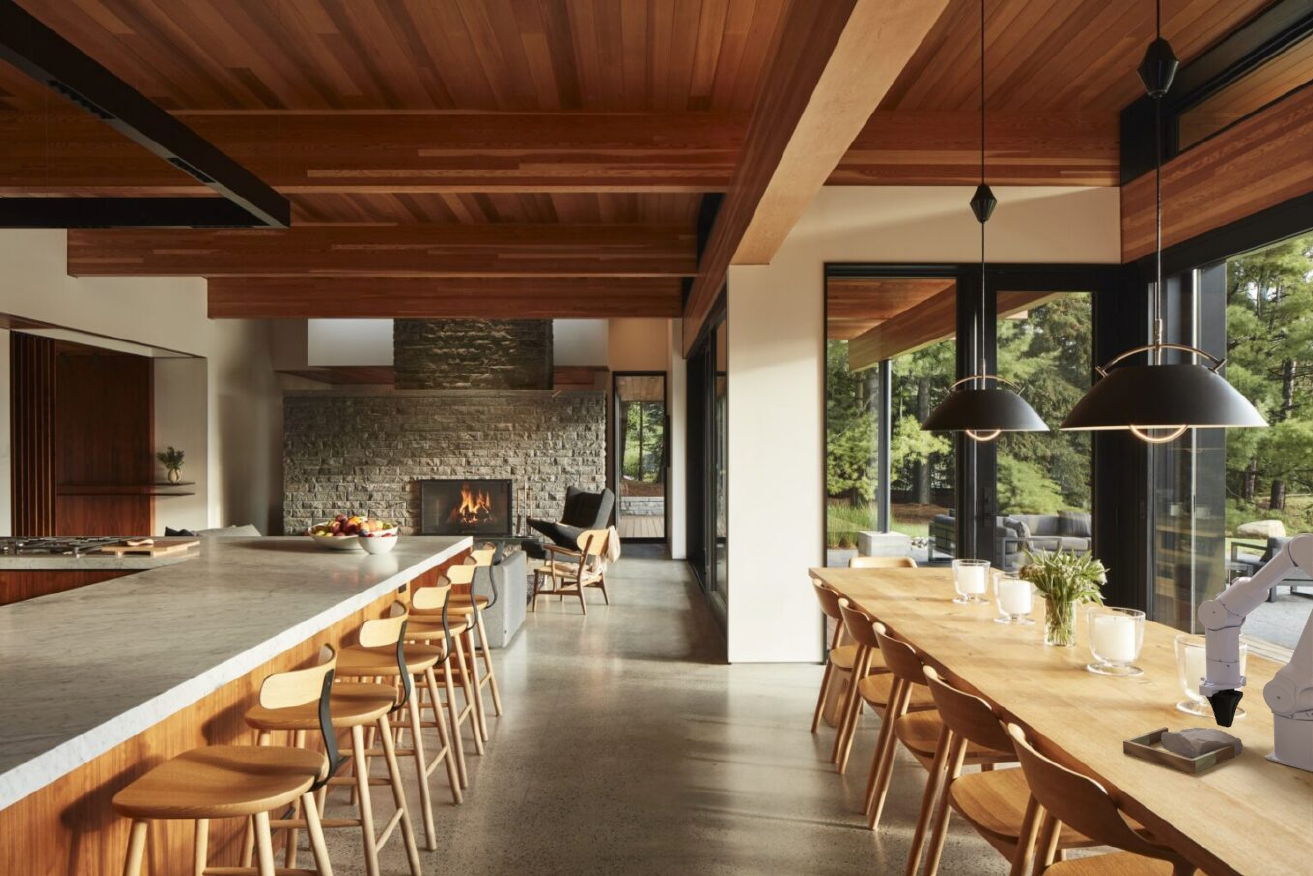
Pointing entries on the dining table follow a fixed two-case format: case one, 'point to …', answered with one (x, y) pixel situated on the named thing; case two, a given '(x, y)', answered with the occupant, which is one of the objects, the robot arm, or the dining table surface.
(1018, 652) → the dining table surface
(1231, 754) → the guide slot
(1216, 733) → the stone block
